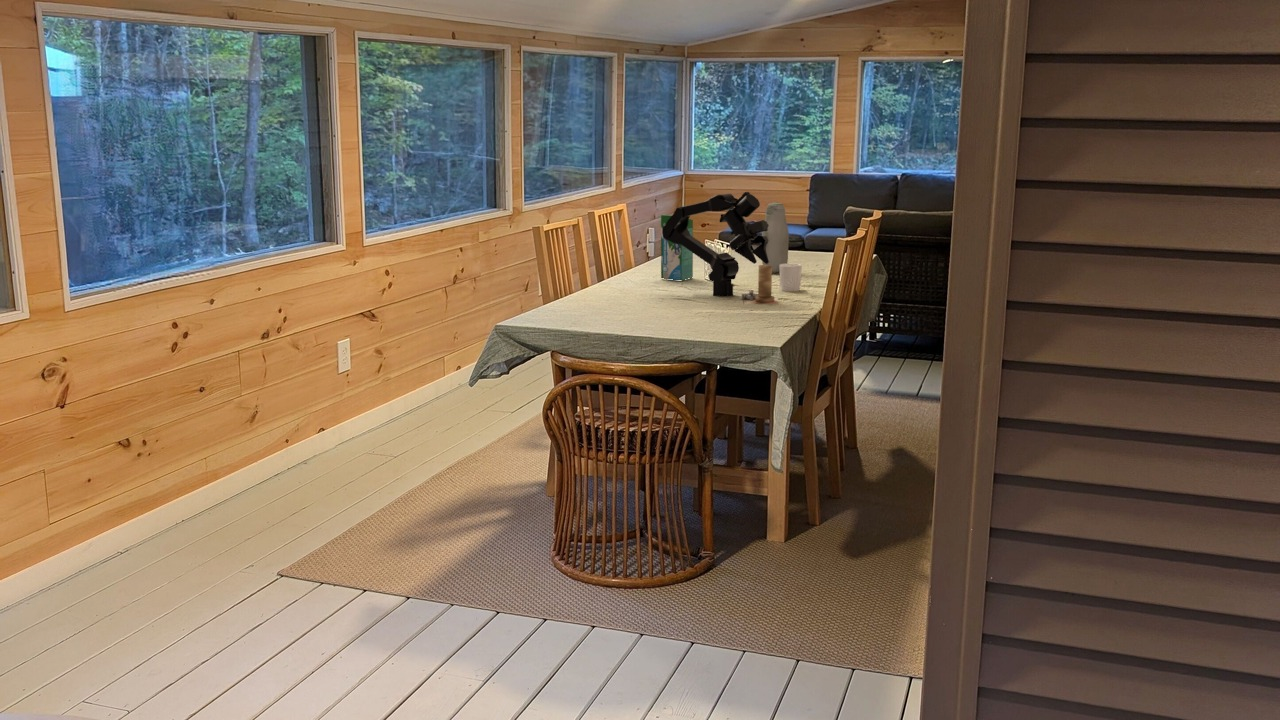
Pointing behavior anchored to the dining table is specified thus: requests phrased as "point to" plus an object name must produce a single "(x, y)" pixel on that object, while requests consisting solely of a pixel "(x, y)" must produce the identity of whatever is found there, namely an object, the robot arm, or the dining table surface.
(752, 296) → the metal gear
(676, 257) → the milk carton
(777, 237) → the grey bottle
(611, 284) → the dining table surface
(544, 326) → the dining table surface
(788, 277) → the white cup
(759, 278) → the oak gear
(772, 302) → the gear board
